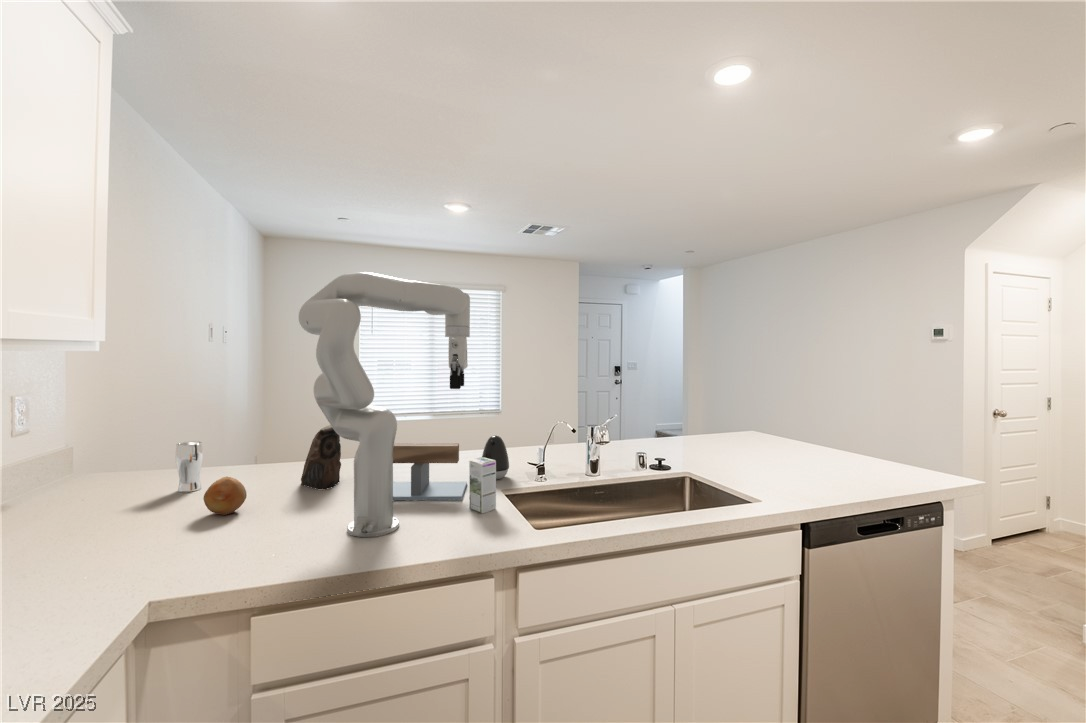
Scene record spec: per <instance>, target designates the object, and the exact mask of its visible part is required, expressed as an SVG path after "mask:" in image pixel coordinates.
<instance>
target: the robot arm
mask: <svg viewBox="0 0 1086 723" xmlns="http://www.w3.org/2000/svg"><path fill="white" fill-rule="evenodd" d="M359 307H371V308H377V309H383V310H393V311H399V312H425V313H426V314H428V315H433V316H438V315H439V316H443V315H444V318H445V319H444V320H445V321H444V326H445V327H444V328H445V329H444V334H445V336H444V337H446V338H448V368H449V370H450V371H449V372H450V373H449V389H451V390H460V389H461V388H462V387H465V369H467V368H468V366H469V365H468V339H467V338H470V337H471V336H470V335H471V334H470V333H471V328H470V327H471V325H470V324H471V297H470V294H468V293H467V292H464V291H463V290H462V289H460V288H458V287H455V286H450V285H447V284H440V283H431V282H424V281H423V282H422V281H418V280H411V279H409V280H408V279H404V278H399V277H393V276H389V275H386V274H385V275H384V274H380V273H374V272H367V271H364V272H362V271H361V272H352V273H346V274H345V273H344V274H341V275H339V276H337V277H336V278H334V279H333V280H331V281H330V282H329V283H328V284H326V285H325V286H324V287H323V288H321V289H319V291H317V292H316V293H315V294H314V295H313V296H311V297H310V298H309V299H307V300H306V301H305V302H304V303H303V304H302V306H301V308H300V309H299V311H298V322H299V325H300V326H301V328H302V329H303V330H304V331H305V332H307V333H309V334H311V335H316V336H318V339H317V344H316V348H315V358H316V362H317V364H318V366H319V369H320V371H321V372H322V373H321V374H319V375H318V377H317V378H316V379H315V381H314V383H313V396H314V399H315V402H316V404H317V405H318V407H319V409H320V411H321V412H322V413H323V415H324V417H325V418H326V420H327V422H328V423H329V425H331V426H332V428H333V429H334V431H335V432H336V433H337V434H338V435H339V436H340V438H342V439H345V440H348V441H349V440H350V441H355V442H359V443H358V444H359V445H358V447H357V449H356V451H355V454H354V458H353V520H352V521H351V522H350V523H349V524H348V525H347V526H346V527H347V528H346V529H347V533H348V534H349V535H351V536H354V537H359V538H374V537H379V536H384V535H388V534H390V533H392V532H395V531H396V530H397V529H398V528H399V526H400V520H399V519H398V518H397V517H396V516H395V517H394V501H393V482H394V463H393V448H394V443H395V440H396V435H397V431H398V420H397V418H396V417H397V416H396V415H395V414H394V413H393V412H392V411H391V410H390V409H388V408H386V407H383V406H380V405H379V406H378V405H371V404H372V403H373V401H374V397H375V388H374V387H373V383H372V382H371V380H370V379H369V376H368V375H367V373H366V371H365V369H364V367H363V365H362V364H361V362H360V360H359V358H358V356H357V353H356V352H355V339H356V338H355V337H356V334H357V332H358V330H359V327H360V324H361V320H362V319H361V318H362V316H361V315H362V314H361V311H360V308H359Z"/></svg>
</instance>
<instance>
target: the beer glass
mask: <svg viewBox="0 0 1086 723" xmlns="http://www.w3.org/2000/svg"><path fill="white" fill-rule="evenodd" d="M202 443H203V442H202V441H199V440H198V441H197V440H193V441H184V442H179V443H178V442H177V443H176V448H175V463H176V469H177V473H178V478H179V479H178V480H179V482H178V486H177V487H178V488H177V492H179V493H193V492H196V490H197V491H199V489H200V490H201V489H202V484H201V479H200V478H201V475H200V474H201V470H202V465H203V456H204V455H203V444H202ZM192 491H193V492H192Z"/></svg>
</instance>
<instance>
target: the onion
mask: <svg viewBox="0 0 1086 723" xmlns="http://www.w3.org/2000/svg"><path fill="white" fill-rule="evenodd" d="M246 499H247V490H246V488H245V486H244V484H243V483H242V482H241V481H239V480H238V479H236V478H234V477H231V476H223V477H221V478H219V479H218V480H216V481H214V482H213V483H212V484H211V485H210V486H209V487H208V488H207V490H205V492H204V495H203V502H204V505H205V506H206V508H207V510H209V512H211V513H214V514H217V515H221V516H222V515H225V516H227V515H229V514H232V513H234V512H235V511H237V510H238V509H239V508H241V506H242V505H243V504H244V503H245V501H246Z"/></svg>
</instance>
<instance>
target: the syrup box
mask: <svg viewBox="0 0 1086 723" xmlns="http://www.w3.org/2000/svg"><path fill="white" fill-rule="evenodd" d="M468 462H469V510H472V511H475V512H477V513H480V514H484V513H488V512H491V511H494V510H496V509H497V479H496V460H492V459H488V458H484V457H482V456H481V457H477V458H476V457H475V458H473V459H470V460H469V461H468Z"/></svg>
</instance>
